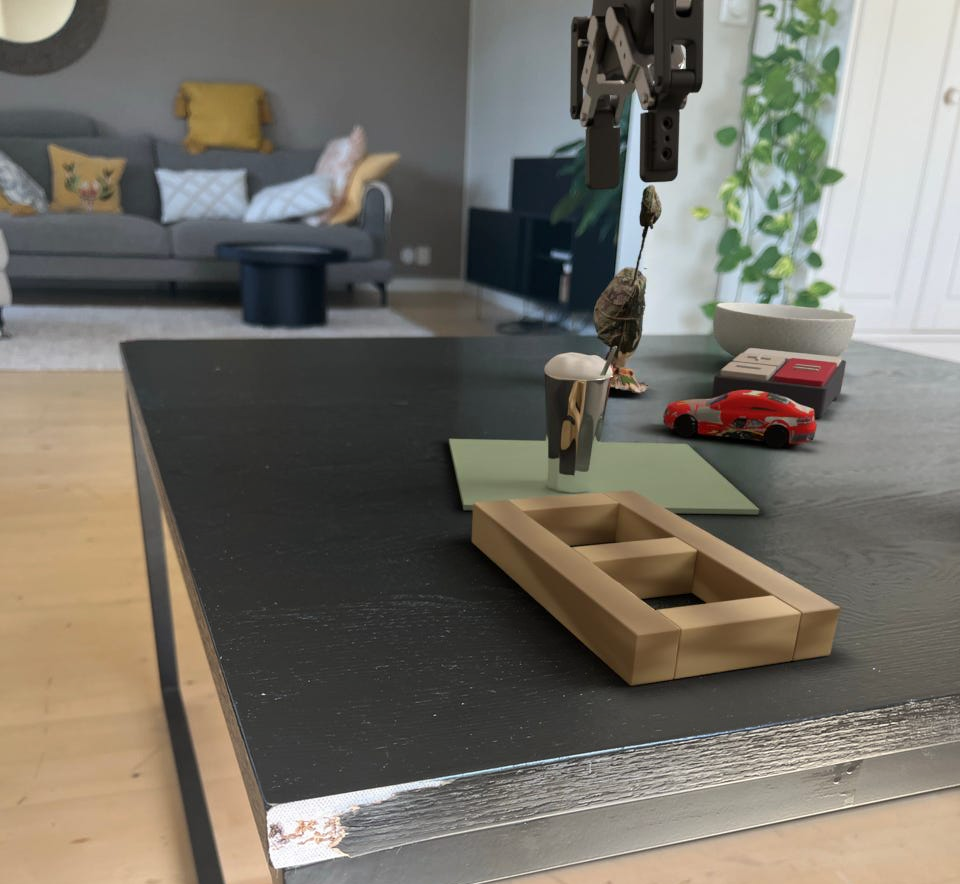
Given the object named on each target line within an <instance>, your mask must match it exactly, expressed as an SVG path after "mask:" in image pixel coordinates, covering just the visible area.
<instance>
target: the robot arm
mask: <svg viewBox="0 0 960 884" xmlns="http://www.w3.org/2000/svg"><path fill="white" fill-rule="evenodd" d="M704 3H705V0H592V7H591V14H590V15H585V16H573V18H572V20H571V25H570V87H569V88H570V91H569V93H570V96H569V98H570V101H569V113H570V118H571V120H573V121H575V120H577V121H578V120H579V121H580V122H579V123H580V126H581V127H582V128H585V186H586V188H588V189H589V190H591V191H599V190H600V191H601V190H604V191H605V190H614V189H616V188H618V187H619V185H620V183H621V127H620V126H619V125H620V123H621V119H622V115H623V110H624V107H625V104H626V99H627V98H628V97H629V96H631V95H633V94H634V92H635V91H636V94H637V98H638V101H639V104H640V108H641V110H642V111H644V112H641V113H640V115H639V116H640V117H639V118H640V119H639V126H640V127H639V128H640V129H639V168H638V169H639V170H638V171H639V172H638V173H639V174H638V175H639V178H640V180H641V182H643V183H645V184H647V183H668V182H673V181H675V180H676V179H677V177H678V174H679V151H680V150H679V149H680V117H681V116H680V115H681V112H680V110H681V111H682V110H684V109H685V108H686V106H687V102H688V96H689V95H690V94H698V93H699V92H700V91H701V89H702V86H703V82H704V80H703V79H704V22H705V21H704V20H705V19H704V18H705V17H704V13H705V11H704V10H705V9H704V8H705V4H704ZM682 46H683V48H684V49H685V54H684V52H683V48H682ZM684 55H685V56H684ZM684 64H685V68H683V66H684ZM584 90H585V91H584ZM618 126H619V127H618Z"/></svg>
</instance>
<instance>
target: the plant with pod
mask: <svg viewBox="0 0 960 884" xmlns="http://www.w3.org/2000/svg"><path fill="white" fill-rule="evenodd" d="M662 210H663V209H662V203H661V200H660V196H659V195H658V192H657V191H656V187H655V186H654V185H653V184H649V185H648V186H646V187H645V188H644V189H643V191H642V197H641V201H640V211H639V218H638V220H639V225H640V227H642V228H643V229H642V233H641V238H642V240H641V245H640V250H639V253H638V255H637V261H636V266H635V267H632V266H629V267H627V266H625V267H624V268H621V270H619V271H618V273H617V274H616V275H614V276H613V277H612V278H611V279H612V280H611V281H610V282H609V284H608V285H607V286H606V288H605V289H604V291H603V292H602V293H601V294H600V296H599V298H598V299H597V301H596V303H595V306H594V307H593V309H594V311H593V317H592V318H593V320H592V321H593V325H594V328H595V332H596V333H597V339H598V340H600V341H601V342H602V343H603V344H604V345H605V346H607V347H609V349H608V351H607V352H606V354H605V357H604V360H605V361H607V359H608V356H609V354H610V352H611V349H612V347H616V346H617V349H616V352H615V354H614V356H613V359H612V361H611V363H610V367H611V369H612V371H613V374H612V379H611V384H610V388H615V389H616V390H618V389H620V390H621V391H627V392H628V391H630V392H632V393H634V394H642V393H646V392H647V389H648V388H649V384H647V383H646V382H644V381H643V382H642V381H641V382H640V381H639V379H636V376H635V373H634V370H633V368H630V367H627V366H626V365H627V363H628V361H629V360H630V358H631V357H632V356H633V354H635V352H636V350H637V349H638V347H639V344H640V342H641V338H642V335H643V324H644V315H645V310H646V305H647V304H646V297H645V295H646V293H647V292H646V289H647V277H646V275H644V274H643V273H642V271H641V270H639V267H640V262H641V259H642V252H643V250H644V248H645V241H646V238H647V235H648V231H649V229H650V230H653V229H654V225H655V224H656V223H657V221H658V220H659V219H660V218H661V216H662ZM643 269H644V270H648V268H646V267H643Z"/></svg>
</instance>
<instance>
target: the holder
mask: <svg viewBox="0 0 960 884" xmlns="http://www.w3.org/2000/svg"><path fill="white" fill-rule="evenodd" d="M471 525H472V526H471V543H472V544H473V545H474V546H476V547H477V549H479V550H480V551H481V552H482V553H483V554H484V555H485V556H486V557H488V558H489V559H490V560H491V561H492V562H493V563H494V564H495V565H496V566H497V567H498V568H500V570H502V571H503V572H504V573H505V574H506V575H507V576H508V577H510V578H511V579H512V580H513V581H514V582H515V583H516V584H517V585H519V587H521V589H523V590H524V591H525V592H526V593H527V594H528V595H529V596H531V597H532V598H533V599H534V600H535V601H536V602H537V603H538V604H540V605H541V607H543V608H544V609H545V610H546V611H547V612H548V613H549V614H550V615H551V616H553V618H555V619H556V620H557V621H558V622H559V623H560V624H562V625H563V627H565V628H566V629H567V630H568V631H569V632H570V633H571V634H573V635H574V636H575V637H576V638H577V639H578V640H579V641H580V642H581V643H582V644H583V645H584V646H586V647H587V648H588V649H589V650H590V651H591V652H592V653H594V654H595V656H597V657H598V658H599V659H600V660H601V661H602V662H603V663H604V664H606V665H607V666H608V667H609V668H610V669H611V670H612V671H613V672H614V673H616V674H617V675H618V676H619V677H620V678H621V679H622V680H623V681H624V682H625V683H627V684H628V686H631V687H633V686H641V685H646V684H653V683H658V682H659V683H660V682H665V681H673V680H679V679H685V678H691V677H697V676H698V677H699V676H702V675H710V674H711V675H712V674H716V673H724V672H729V671H735V670H736V671H737V670H741V669H742V670H743V669H750V668H755V667H762V666H769V665H775V664H782V663H789V662H791V661H793V662H794V661H801V660H808V659H814V658H821V657H827V656H830V655H831V652H832V647H833V642H834V638H835V633H836V628H837V623H838V619H839V614H840V609H841V608H840V606H838V605H837V604H835V603H833V602H831V601H829V600H828V599H826V598H824V597H823V596H820V595H818V594H817V593H815V592H813V590H810V589H808V588H806V587H804V586H803V585H801V584H799V583H797V582H796V581H794V580H792V579H790V578H789V577H787V576H785V575H783V574H781V573H780V572H778V571H776V570H775V569H773V568H771V567H769V566H767V565H765V563H763V562H760V561H759V560H757V559H756V558H753V557H752V556H750V555H748V554H746V553H745V552H743V551H741V550H740V549H737V548H736V547H734V546H732V545H730V544H728V543H727V542H725V541H723V540H721V539H719V538H718V537H716V536H714V535H713V534H711V533H709V532H708V531H706V530H704V529H702V528H701V527H699V526H697V525H695V524H693V523H692V522H689V521H688V520H686V519H684V518H682V517H681V516H679V515H677V513H672V512H670V511H668V510H667V509H665V508H663V507H661V506H660V505H658V504H656V503H654V502H653V501H651V500H649V499H647V498H645V497H644V496H642V495H640V494H638V493H637V492H635V491H633V490H632V491H618V492H605V493H590V494H577V495H564V496H550V497H537V498H524V499H511V500H499V501H486V502H474V503H473V510H472V523H471ZM689 594H692V595H694V596H695V597H697V598H698V599H700V600H701V601H703V602H704V603H701V604H692V605H683V606H676V607H669V608H661V609H660V608H659V609H656V610H655V609H654V608H653V607H651V606H650V605H649V604H647V602H644V601H643V600H646V599H653V598H662V597H671V596H679V595H689Z"/></svg>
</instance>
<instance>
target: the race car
mask: <svg viewBox="0 0 960 884" xmlns="http://www.w3.org/2000/svg"><path fill="white" fill-rule="evenodd" d="M662 418H663V420H662V422H663V424H664V425H665V426H666V427H668V428H669V429H673V430H674V429H675V431H676V433H677V434H678V435H679V436H680V437H683V438H688V437H691V436H693V435H694V434H695V433H696V431H697V434H698V435H708V436H715V437H716V436H717V437H723V438H732V439H733V438H734V439H739V440H740V439H741V440H748V441H749V440H750V441H758V442H763V441H764V440H765V442H766V444H767V445H768V446H769V447H771V448H775V449H777V448H781V447H783V446H784V445H786V443H787V442H788V444H789V445H790V444H791V445H792V444H802V443H809V442H810V441H814V438H815V437H816V431H817V428H818V427H817V426H818V423H817V422H816V421H815V418H814V409H812V408H809V407H806V406H803V405H800V404H798V403H796V402H794V401H792V400H791V399H789V398H786V397H783V396H780V395H777V394H773V393H768V392H762V391H754V390H737V391H732V392H729V393H727V394H724V395H721V396H718V397H715V398H712V397H711V398H691V399H690V398H689V399H682V400H678V401H674V402H671V403H669V404H668V405H667V407H666V409H665V410H664V412H663V416H662Z"/></svg>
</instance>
